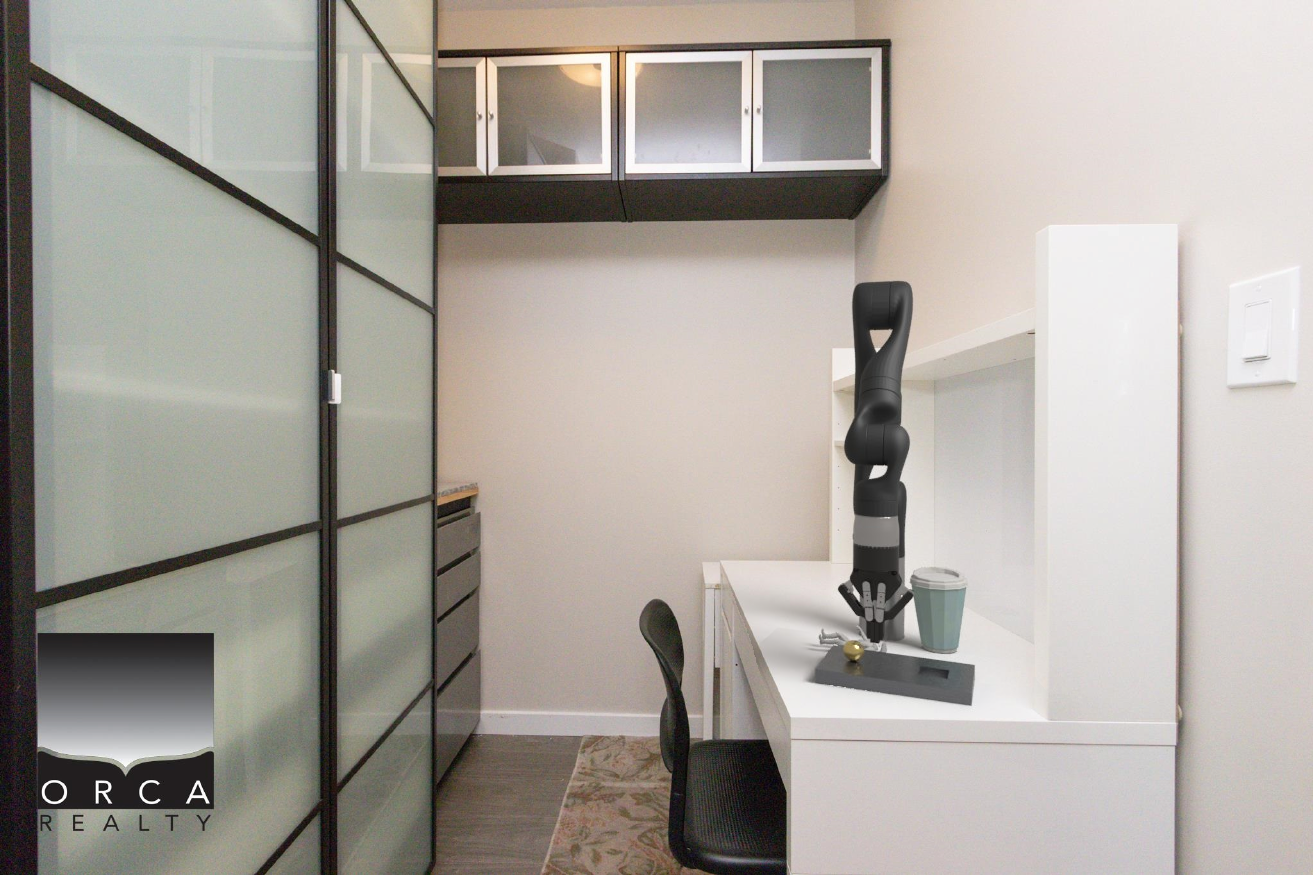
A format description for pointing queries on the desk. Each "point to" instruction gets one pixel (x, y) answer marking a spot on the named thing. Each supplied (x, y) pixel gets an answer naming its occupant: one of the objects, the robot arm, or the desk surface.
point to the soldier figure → (844, 639)
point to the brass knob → (853, 650)
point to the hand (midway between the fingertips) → (875, 641)
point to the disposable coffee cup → (939, 607)
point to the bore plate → (899, 675)
